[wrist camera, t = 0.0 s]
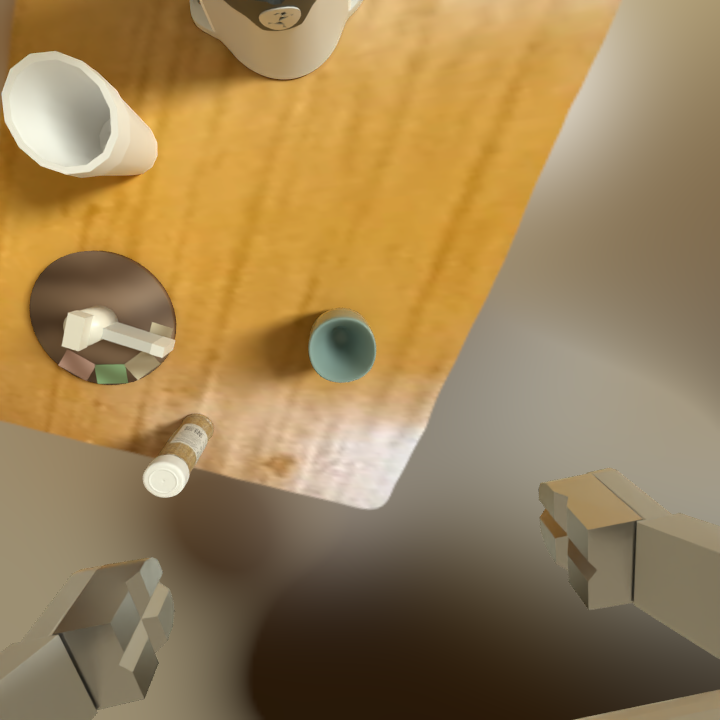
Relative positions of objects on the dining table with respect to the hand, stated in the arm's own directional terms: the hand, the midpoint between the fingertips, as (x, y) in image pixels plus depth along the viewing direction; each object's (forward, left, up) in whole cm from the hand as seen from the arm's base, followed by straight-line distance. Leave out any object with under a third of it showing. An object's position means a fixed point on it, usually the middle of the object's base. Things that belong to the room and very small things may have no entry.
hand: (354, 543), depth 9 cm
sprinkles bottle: (+16, -22, -48) cm, 55 cm away
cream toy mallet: (+1, -26, -47) cm, 53 cm away
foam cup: (-20, -20, -48) cm, 56 cm away
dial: (-1, -29, -48) cm, 56 cm away
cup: (+6, 0, -48) cm, 49 cm away
